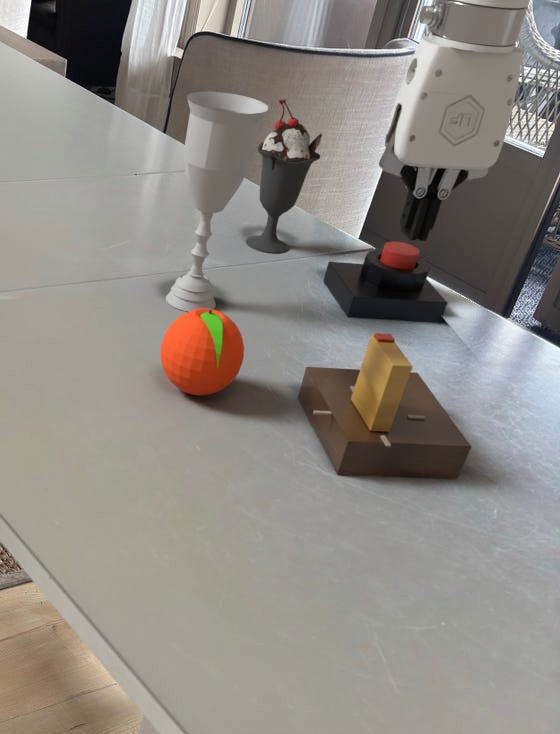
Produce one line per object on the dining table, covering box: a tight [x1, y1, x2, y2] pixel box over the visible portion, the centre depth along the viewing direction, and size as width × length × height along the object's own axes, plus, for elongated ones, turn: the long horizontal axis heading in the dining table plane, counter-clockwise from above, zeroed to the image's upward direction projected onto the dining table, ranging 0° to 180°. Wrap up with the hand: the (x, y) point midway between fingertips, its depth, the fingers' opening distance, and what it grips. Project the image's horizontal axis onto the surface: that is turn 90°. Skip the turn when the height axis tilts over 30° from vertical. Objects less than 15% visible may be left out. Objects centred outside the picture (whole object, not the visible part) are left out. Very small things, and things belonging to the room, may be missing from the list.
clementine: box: [160, 308, 245, 396], centre depth 81 cm, size 8×7×7 cm
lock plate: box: [297, 366, 472, 480], centre depth 79 cm, size 12×13×3 cm
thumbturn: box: [351, 332, 413, 432], centre depth 75 cm, size 5×2×6 cm, turn 6°
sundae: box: [245, 99, 323, 254], centre depth 106 cm, size 7×7×15 cm
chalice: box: [165, 91, 269, 312], centre depth 91 cm, size 7×7×18 cm
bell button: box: [380, 241, 421, 270], centre depth 100 cm, size 4×4×2 cm
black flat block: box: [322, 248, 448, 324], centre depth 101 cm, size 10×9×4 cm
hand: (413, 235), depth 99 cm, fingers closed
